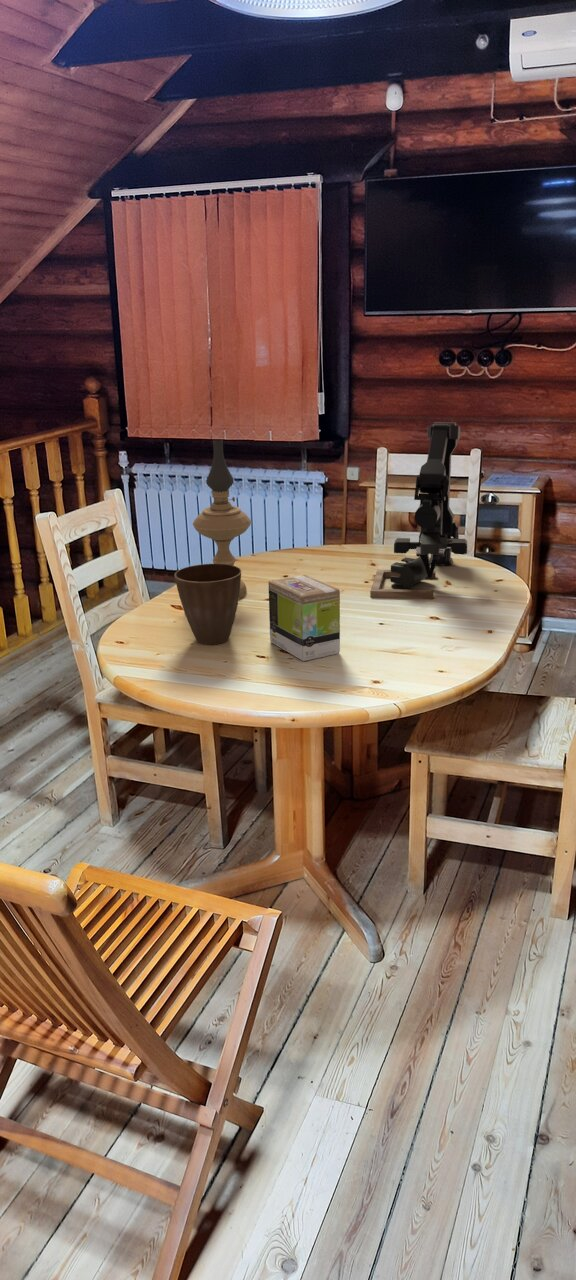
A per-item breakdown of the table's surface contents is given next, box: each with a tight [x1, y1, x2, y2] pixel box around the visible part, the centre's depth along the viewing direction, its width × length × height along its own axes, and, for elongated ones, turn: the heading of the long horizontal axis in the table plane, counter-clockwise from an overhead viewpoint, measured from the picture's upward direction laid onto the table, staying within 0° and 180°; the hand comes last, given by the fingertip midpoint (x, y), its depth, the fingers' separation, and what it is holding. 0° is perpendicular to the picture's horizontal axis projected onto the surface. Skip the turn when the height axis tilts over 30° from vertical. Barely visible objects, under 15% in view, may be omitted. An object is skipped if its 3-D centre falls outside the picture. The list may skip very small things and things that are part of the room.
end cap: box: [390, 556, 428, 590], centre depth 250 cm, size 10×7×7 cm
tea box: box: [268, 574, 341, 662], centre depth 206 cm, size 15×10×15 cm
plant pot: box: [174, 563, 242, 646], centre depth 213 cm, size 15×15×16 cm
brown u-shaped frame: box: [369, 568, 437, 600], centre depth 250 cm, size 20×16×2 cm
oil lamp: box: [192, 439, 252, 599], centre depth 241 cm, size 15×15×40 cm
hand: (429, 577), depth 248 cm, fingers closed
